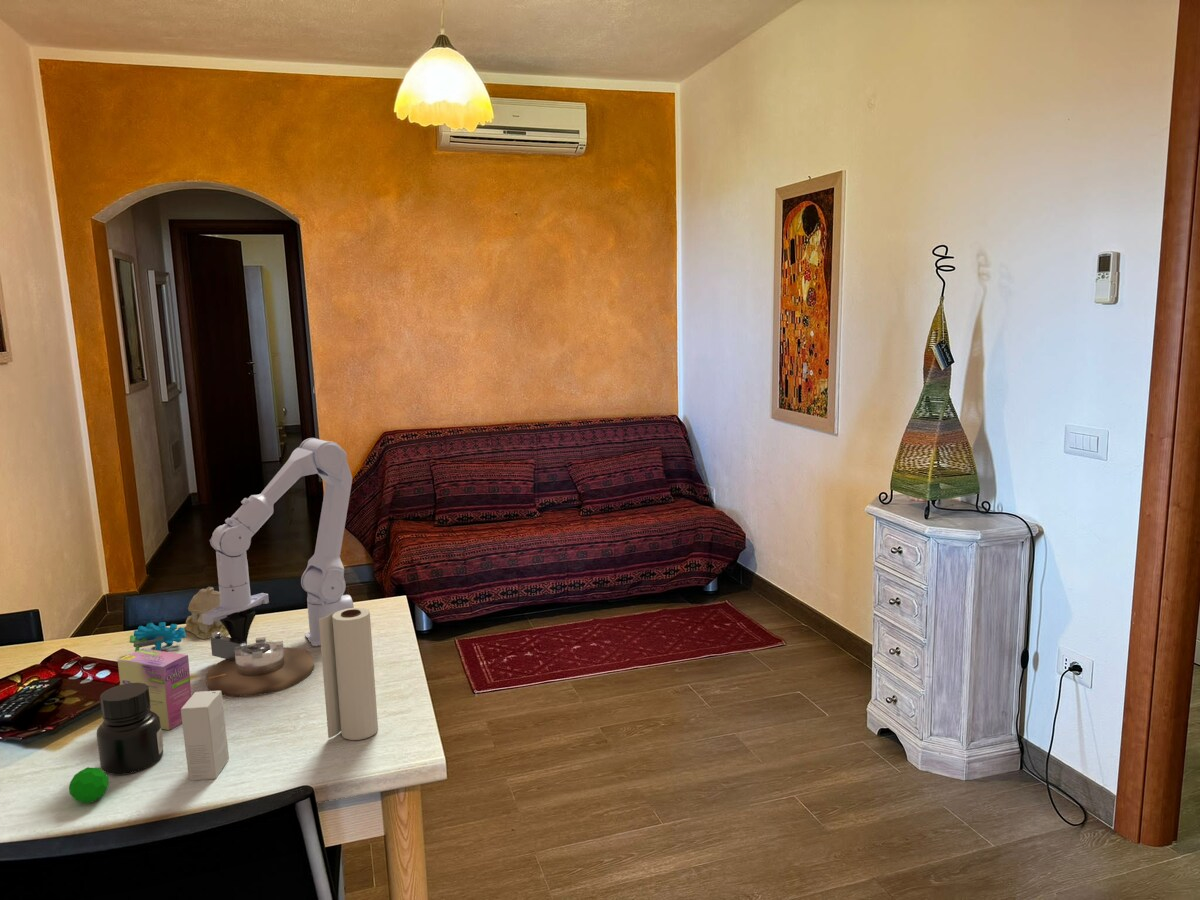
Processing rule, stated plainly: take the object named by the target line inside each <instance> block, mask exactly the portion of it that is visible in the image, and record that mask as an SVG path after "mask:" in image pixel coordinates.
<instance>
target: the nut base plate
mask: <svg viewBox="0 0 1200 900" xmlns="http://www.w3.org/2000/svg"><path fill="white" fill-rule="evenodd" d="M283 647H284V658H285V664H284V665H283V666H282V667H281V668H279V669H278V670H275V671H273V672H270V673H266V674H262V675H251V676H249V675H242V674H239V673H238V672H237V671H236V661H232V660H228V659H222V660H221V661H218V662H217V663H216V664H214V665H212V667H211V668H209V669H208V671H207V672H206V675H205V680H206V681H205V682H206V687H207V689H208V691H221V692H222V696H225V697H251V696H260V695H265V694H270V693H275V692H278V691H281V690H283V689H287V688H289V687H293V686H294V684H295V685H296V684H299V683H301V682H302V681H304V680H305V679H307V678H308V677H309V676H311V674H312V673H313V672H312V671H314V669H315V659H314V655H312V653H310V652H308V651H307V650H306V649H301V648H296V647H286V646H283ZM300 681H301V682H300Z"/></svg>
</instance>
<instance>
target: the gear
mask: <svg viewBox="0 0 1200 900" xmlns="http://www.w3.org/2000/svg"><path fill="white" fill-rule="evenodd" d="M166 624H167V623H166V622H165V621H163V622H161V621H160V622H158V625H155V624H154V623H153V622H148V623H146V625H145V626H143V625H138V627H137V629H136V630H134V631H133V634H132V635H129V640H128V641H129V643H130V644H133V647H134V648H135V649H134V652H136V651H138V650H140V648H143V647H144V648H145V647H148V646H149V647H150V646H155V649H154V650H157V651H162V645H163V644H165V645H167V646H171V645H173V644H174V642H176V643H181V642H182V639H185V638H186V634H187V632H185V631H186V628H184V627H178V624H177V623H171V624H170V625H169V627H167V626H166Z"/></svg>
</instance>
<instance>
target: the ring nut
mask: <svg viewBox="0 0 1200 900" xmlns="http://www.w3.org/2000/svg"><path fill="white" fill-rule="evenodd" d="M209 639H210V645H211V646H210V649H211V656H213V657H216V658H220V659H223V660H225V659H228V660H232V661H236V671H237V672H238V673H239V674H242V675H249V676H251V675H262V674H266V673H270V672H273V671H275V670H278V669H279V668H281V667H282V666H283V665H284V664H285V658H284V647H285V646H284V641H283V640H278V641H267V638H266V636H264V637H263V636H262V637H257V638H255V642H254V643H251V644H248V640H247V641H243V640H239V639H235V638H231V637H230V636H222V634H221V631H216V632H213V633H212V637H210V638H209Z"/></svg>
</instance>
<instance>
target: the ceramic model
mask: <svg viewBox="0 0 1200 900" xmlns="http://www.w3.org/2000/svg"><path fill="white" fill-rule="evenodd" d="M219 605H220V592H219V590H215V589H214V587H213V586H208V587H206V588H202V589H199V591H198V592H197V593H196V594H194V595H193V596H192V598H191V600H190V601H189V603H188V608H187V609H188V610H187V611H188V612H190V614H191V615H189V616H187V618H186V620H185V624H186V628H185V631H187V632H190V633H192V634H193V635H194V636H195V637H197V638H199V639H204V640H205V639H206V640H207V639H210V637H212V633H213V632H216V631H221V634H222V636H226V637H228V636H229V635H228V634H229V633H228V631H227V629H226V628H225V626H224V625H223V624H222V622H221V621H220V620H218V621H215V622H213V624H211V625H206V624H203V621H202V614H205V613H207V612H209V611H211V610H212V609H214V608H216V607H217V606H219Z"/></svg>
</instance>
